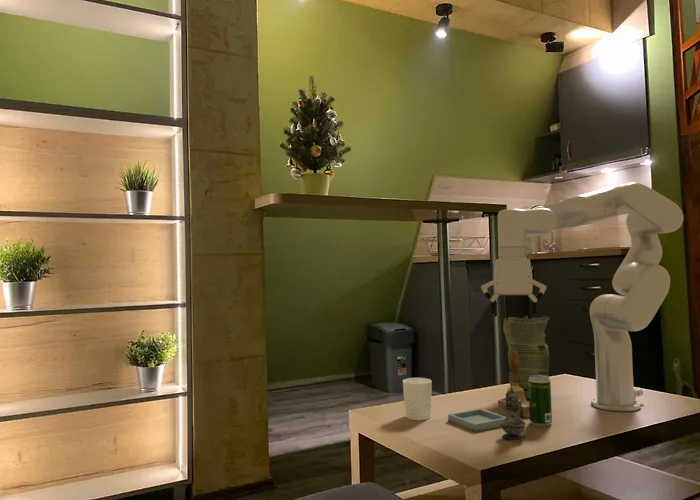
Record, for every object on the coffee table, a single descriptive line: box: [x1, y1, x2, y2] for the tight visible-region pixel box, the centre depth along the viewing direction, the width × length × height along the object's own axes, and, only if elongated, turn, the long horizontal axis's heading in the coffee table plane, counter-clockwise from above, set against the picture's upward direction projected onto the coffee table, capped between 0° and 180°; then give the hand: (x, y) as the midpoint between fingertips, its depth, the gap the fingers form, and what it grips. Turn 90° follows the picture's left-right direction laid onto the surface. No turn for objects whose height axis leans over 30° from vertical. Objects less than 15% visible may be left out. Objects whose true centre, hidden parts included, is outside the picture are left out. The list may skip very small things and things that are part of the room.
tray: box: [447, 407, 506, 433], centre depth 141 cm, size 11×11×2 cm
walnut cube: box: [497, 397, 523, 418], centre depth 146 cm, size 4×4×4 cm
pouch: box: [502, 315, 550, 400], centre depth 169 cm, size 11×12×25 cm
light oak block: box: [522, 401, 530, 418], centre depth 148 cm, size 6×4×3 cm, turn 107°
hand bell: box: [506, 352, 528, 403], centre depth 156 cm, size 8×8×16 cm
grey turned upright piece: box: [500, 386, 527, 442], centre depth 129 cm, size 6×6×12 cm
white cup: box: [402, 377, 433, 421], centre depth 149 cm, size 8×8×10 cm
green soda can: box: [528, 375, 553, 427], centre depth 139 cm, size 5×5×12 cm
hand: (513, 316), depth 149 cm, fingers open, 9 cm apart
